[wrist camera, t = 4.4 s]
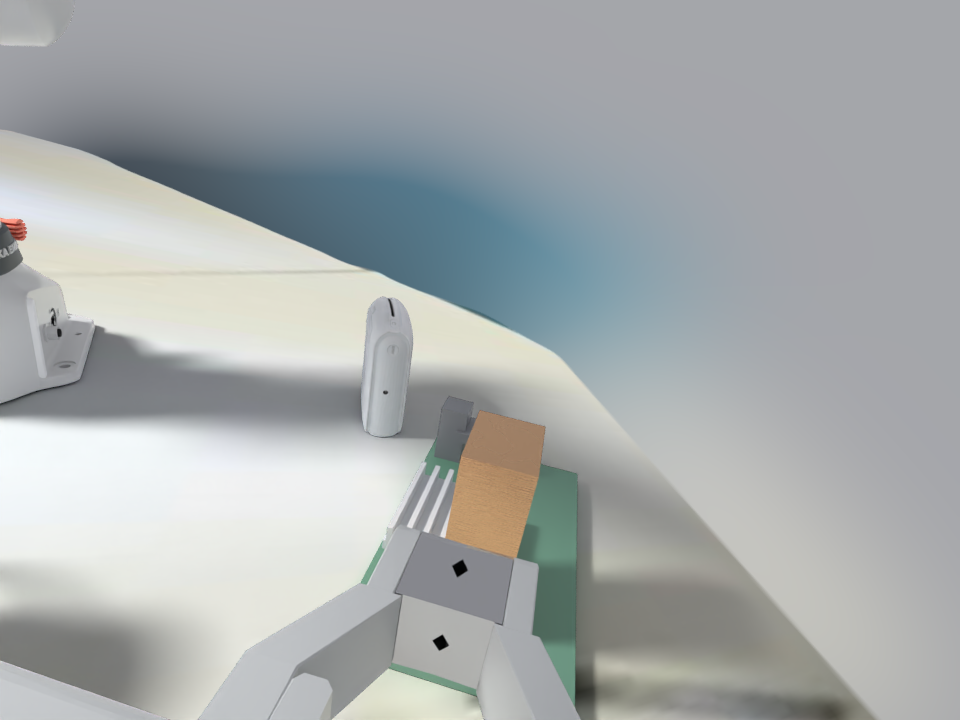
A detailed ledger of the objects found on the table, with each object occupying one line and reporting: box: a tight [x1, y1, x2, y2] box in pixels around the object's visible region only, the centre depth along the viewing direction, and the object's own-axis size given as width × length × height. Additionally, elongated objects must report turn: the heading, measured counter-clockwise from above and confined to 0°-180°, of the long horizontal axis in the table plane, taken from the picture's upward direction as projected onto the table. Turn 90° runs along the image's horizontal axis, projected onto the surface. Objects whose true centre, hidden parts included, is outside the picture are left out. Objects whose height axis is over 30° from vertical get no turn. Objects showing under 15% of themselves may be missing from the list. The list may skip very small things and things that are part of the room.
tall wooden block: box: [445, 410, 545, 559], centre depth 31 cm, size 10×4×12 cm, turn 169°
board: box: [361, 396, 577, 707], centre depth 36 cm, size 22×14×6 cm, turn 169°
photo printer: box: [361, 297, 413, 437], centre depth 50 cm, size 10×4×12 cm, turn 14°
